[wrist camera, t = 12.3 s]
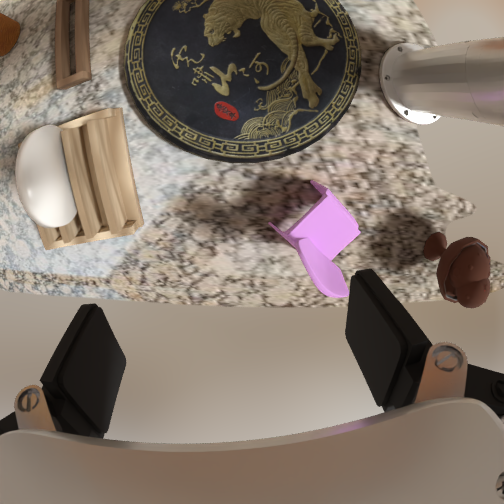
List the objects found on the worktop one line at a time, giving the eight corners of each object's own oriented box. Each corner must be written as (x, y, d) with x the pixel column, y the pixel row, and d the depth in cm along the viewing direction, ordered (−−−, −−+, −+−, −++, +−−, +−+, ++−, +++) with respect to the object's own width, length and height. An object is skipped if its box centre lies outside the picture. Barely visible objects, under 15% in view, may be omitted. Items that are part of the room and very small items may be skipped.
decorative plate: (260, 212, 36) (78, 80, 26) (258, 207, 38) (84, 81, 28) (401, 57, 28) (232, -72, 18) (394, 59, 30) (232, -65, 19)
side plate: (36, 107, 21) (20, 215, 20) (84, 147, 33) (81, 233, 32) (24, 113, 21) (9, 219, 20) (73, 151, 32) (70, 235, 32)
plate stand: (89, -10, 21) (82, -16, 19) (91, 79, 28) (83, 77, 25) (64, 1, 21) (57, -3, 18) (66, 89, 28) (56, 88, 25)
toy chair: (347, 212, 39) (401, 262, 26) (303, 255, 42) (336, 320, 28) (308, 171, 36) (356, 205, 23) (262, 218, 39) (282, 276, 25)
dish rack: (122, 107, 30) (106, 107, 25) (144, 223, 37) (133, 238, 33) (29, 141, 30) (8, 146, 25) (54, 240, 37) (38, 255, 32)
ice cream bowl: (454, 262, 45) (502, 306, 32) (409, 280, 46) (456, 333, 32) (457, 211, 40) (516, 248, 27) (410, 226, 41) (469, 273, 28)
